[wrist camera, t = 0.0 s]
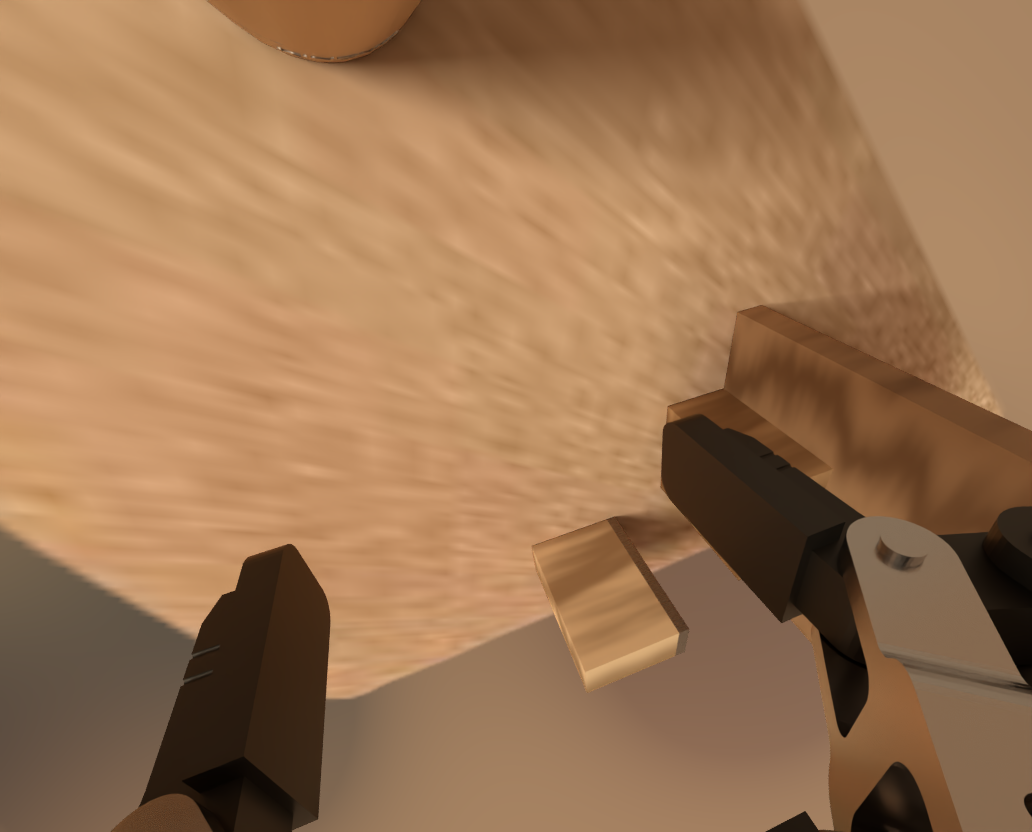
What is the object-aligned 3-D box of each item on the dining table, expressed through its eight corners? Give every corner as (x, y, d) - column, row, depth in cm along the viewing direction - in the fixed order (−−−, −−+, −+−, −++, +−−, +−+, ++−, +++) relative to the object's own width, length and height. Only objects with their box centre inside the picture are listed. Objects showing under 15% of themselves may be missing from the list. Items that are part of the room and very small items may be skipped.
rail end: (531, 546, 38) (585, 672, 30) (614, 516, 40) (689, 629, 31) (535, 569, 41) (587, 693, 32) (614, 540, 42) (684, 651, 33)
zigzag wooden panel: (674, 330, 30) (1029, 566, 15) (761, 305, 31) (1177, 498, 16) (656, 533, 43) (832, 772, 28) (718, 510, 45) (921, 727, 29)
